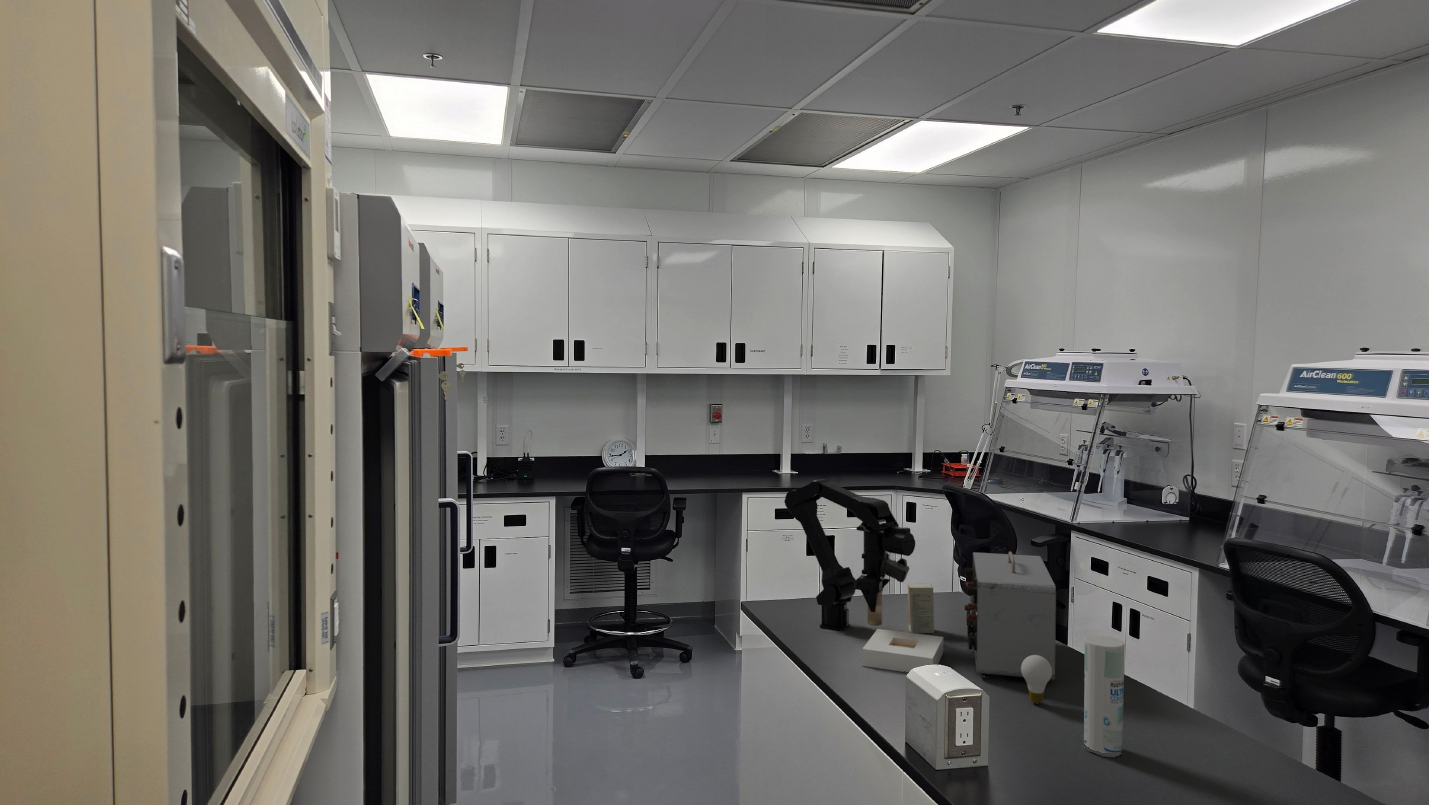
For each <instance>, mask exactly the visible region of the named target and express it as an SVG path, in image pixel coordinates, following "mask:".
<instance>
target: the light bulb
mask: <svg viewBox="0 0 1429 805" xmlns="http://www.w3.org/2000/svg"><path fill="white" fill-rule="evenodd" d="M1021 672H1022V675H1023V677H1022V678H1024V680H1025V682H1026V685H1027V689H1028V696H1029V698H1028V699H1029V701H1030V702H1032V703H1033V702H1034V703H1039V704H1040V703H1042V702H1043V701H1044V692H1045V689H1046V686H1047V684H1048V683H1047V682H1048V681H1049V682H1050V678H1051V676H1052V668H1051V665H1050V664H1049V662H1048V661H1047V660H1046V659H1045V658H1043V657H1042V656H1039V655H1031V656H1028V657H1027V658H1025V660H1024V661H1023V663H1022V666H1021ZM1034 703H1033V704H1034Z"/></svg>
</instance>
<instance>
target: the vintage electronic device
mask: <svg viewBox="0 0 1429 805" xmlns="http://www.w3.org/2000/svg"><path fill="white" fill-rule="evenodd" d="M964 578H965V579H972V581H965V582H964V587H965V588H966V595H967V596H969V597H970V603H967V604H965V605H964V611H966V626H967V627H966V628H967V630H966V631H967V637H968V638H967V639H968V644H967V645H968V650H971V651H972V650H974V652H973V653H974V661H975V662H974V663H975V672H976V673H978V674H981V676H982V675H983V676H985V677H992V676H993V677H994V675H996V676H997V675H998V676H1007V677H1016V678H1017V677H1020V678H1024V677H1023V675H1022V672H1021V666H1022V663H1023V661H1024V660H1025V658H1027V657H1028V656H1031V655H1039V656H1042V657H1043V658H1045V659H1046V660H1047V661H1048V662H1049V664H1050V665H1051V668H1052V676H1051V678H1050V680H1052V681H1055V680H1056V633H1057V632H1056V630H1057V629H1056V626H1057V625H1056V624H1057V622H1056V618H1057V614H1056V613H1057V588H1056V584H1055V582H1054V580H1053V579H1052V576H1051V574H1050V572H1049V570H1048V568H1047V566H1046V564H1045V563H1044V560H1043V559H1042V557H1041V555H1031V554H1030V555H1025V554H1013V552H1012V551H1008V553H1006V554H1005V553H993V552H992V553H990V552H989V553H988V552H972V568H971V567H970V568H969V567H967V568H964ZM983 676H982V677H983ZM985 677H984V678H985ZM993 677H992V678H993ZM1050 680H1049V681H1048V682H1049V683H1050Z"/></svg>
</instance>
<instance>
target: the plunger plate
mask: <svg viewBox="0 0 1429 805" xmlns="http://www.w3.org/2000/svg"><path fill="white" fill-rule="evenodd" d="M894 646H899V647H907V648H915V647H914V646H906V645H898V644H894Z"/></svg>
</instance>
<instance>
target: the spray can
mask: <svg viewBox="0 0 1429 805" xmlns="http://www.w3.org/2000/svg"><path fill="white" fill-rule="evenodd" d="M1125 647H1126V646H1125V642H1124V641H1123V640H1121V639H1119V638H1117V637H1112V636H1109V635H1099V634H1098V635H1097V634H1094V635H1088V636H1085V638H1084V684H1083V685H1084V688H1083V689H1084V690H1083V692H1084V693H1083V695H1084V700H1083V701H1084V704H1083V710H1084V711H1083V712H1084V713H1083V714H1084V715H1083V717H1084V718H1083V726H1084V727H1083V745H1084V744H1085V745H1086V746H1087V747H1089V748H1090V749H1092V750H1094V751H1099V752H1101V753H1119V752H1120V751H1122V752H1123V736H1124V735H1123V733H1124V732H1123V730H1124V729H1123V728H1124V726H1123V725H1124V690H1125V689H1124V688H1125V687H1124V686H1125V685H1124V684H1125V649H1126V648H1125Z"/></svg>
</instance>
